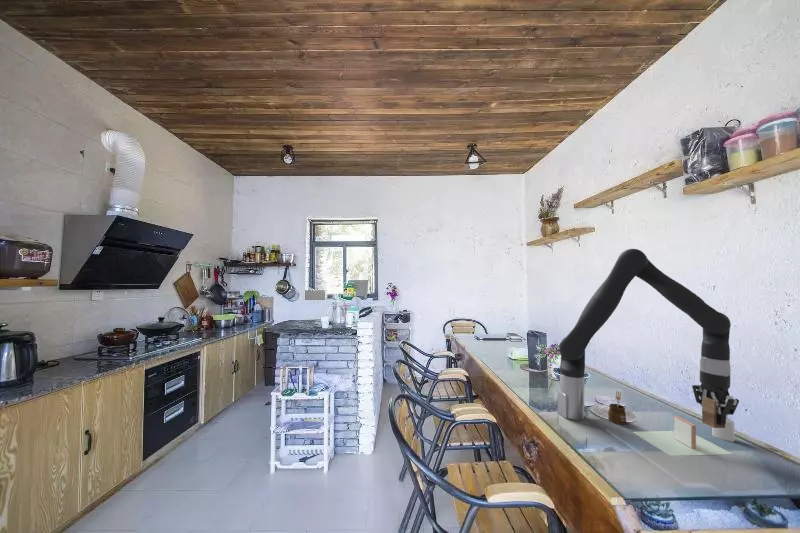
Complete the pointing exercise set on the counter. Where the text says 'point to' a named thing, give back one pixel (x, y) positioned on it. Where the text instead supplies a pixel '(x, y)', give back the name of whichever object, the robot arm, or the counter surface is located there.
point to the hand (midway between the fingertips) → (713, 421)
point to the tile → (685, 432)
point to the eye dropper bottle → (725, 431)
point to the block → (710, 413)
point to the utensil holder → (617, 412)
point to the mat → (679, 444)
